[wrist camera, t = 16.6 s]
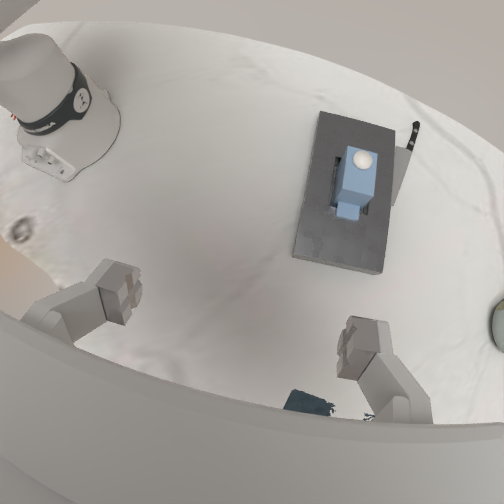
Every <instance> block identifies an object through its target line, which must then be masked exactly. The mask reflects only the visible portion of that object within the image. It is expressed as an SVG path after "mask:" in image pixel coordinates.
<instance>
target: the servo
mask: <svg viewBox="0 0 504 504" xmlns="http://www.w3.org/2000/svg"><path fill="white" fill-rule="evenodd" d="M377 155H378V154H377V153H373V152H370V151H366V150H362V149H359V148H355V147H351V146H347V149H346V150H345V153H344V155H343V157H342V159H341V161H340V163H339V165H338V167H337V169H336V173H335V179H334V186H333V192H332V199H331V205H330V206H331V207H335V208H337V210H336V216H335V217H339V218H343V219H347V220H352V221H356V222H357V221H358V218H359V212H360V211H361V210H362V208H363V207H364V206H365V205H366V204H367V203H368V202H369V201H370V200H371V199H372V198H373V197H374V189H375V179H376V167H377Z"/></svg>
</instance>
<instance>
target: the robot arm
mask: <svg viewBox="0 0 504 504" xmlns="http://www.w3.org/2000/svg"><path fill="white" fill-rule="evenodd" d="M39 1H40V0H0V34H1V33H2V32H3V31H4V30H5V29H6V28H7V27H9V26H10V25H11V24H12V23H13V22H14V21H15V20H17V19H18V18H19V17H20V16H22V15H23V14H24V13H25V12H27V11H28V10H29V9H30V8H31V7H33V6H34V5H35V4H37V3H38V2H39ZM0 105H2V106H3V107H4V108H6V109H7V110H8V111H10V112H11V113H12V115H11V117H12V116H13V115H14V120H15V119H16V117H17V120H18V122H19V123H20V127H19V130H18V135H17V140H18V143H19V144H20V145H21V146H22V147H23V149H22V161H23V162H24V163H25V164H28V165H30V166H32V167H34V168H36V169H38V170H41V171H43V172H45V173H47V174H49V175H51V176H54V177H56V178H58V179H60V180H62V181H65V182H68V181H70V180H72V179H73V178H74V177H75V176H76V175H77V174H78V172H79V171H80V170H82V169H83V168H85V167H87V166H89V165H91V164H92V163H94V162H95V161H97V160H98V159H99V158H101V157H102V156H103V155H104V154H105V153H106V151H107V150H108V149H109V148H110V146H111V145H112V143H113V142H114V140H115V138H116V136H117V133H118V131H119V127H120V114H119V111H118V109H117V108H116V106H115V105H114V104H113V103H112V102H111V101H110V95H109V93H108V91H107V90H106V89H100V88H99V87H98V86H97V85H96V84H95V83H94V82H93V81H92V80H91V79H90V78H89V77H88V76H87V75H85V74H84V75H83V74H82V71H81V70H80V69H79V68H78V67H77V66H76V65H75V64H74V63H72V62H69V60H68V59H67V58H66V56H65V55H64V54H63V52H62V51H61V50H60V48H59V47H58V45H57V44H56V43H55V41H54V40H53V39H52V38H51V37H49V36H47V35H44V34H35V33H34V34H27V35H23V36H21V37H18V38H15V39H12V40H9V41H0ZM63 172H64V173H63ZM62 173H63V174H62ZM140 276H141V274H140V269H139V268H138V267H135V266H131V265H128V264H124V263H121V262H118V261H113V260H110V259H104V260H103V261H102V262H101V263H100V264H99V265H98V267H97V268H96V269H95V270H94V271H93V273H92V274H91V275H90V276H89V277H88V279H87V280H86V281H85V282H80V283H77V284H75V285H73V286H70V287H68V288H66V289H63V290H61V291H59V292H56V293H54V294H52V295H49V296H47V297H45V298H43V299H40V300H38V301H36V302H35V303H34V304H33V305H32V306H31V308H30V309H29V310H28V311H27V313H26V314H25V315H24V316H23V317H22V319H21V320H20V321H19V320H17V319H16V318H13V317H12V316H10V315H8V314H6V313H4V312H3V311H1V310H0V504H504V423H502V422H494V423H478V424H433V419H432V411H431V403H430V398H429V396H428V395H427V394H426V392H425V391H424V390H423V388H422V387H421V386H420V385H419V383H418V382H417V381H416V379H415V378H414V377H413V376H412V374H411V373H410V372H409V370H408V369H407V368H406V367H405V365H404V364H403V363H402V362H401V360H400V359H399V358H398V357H397V356H396V355H393V348H392V341H391V335H390V328H389V323H388V322H386V321H380V320H374V319H368V318H362V317H357V316H350V317H349V318H348V320H347V322H346V329H344V330H342V333H341V335H340V338H339V341H338V347H337V354H338V355H339V357H340V358H339V360H338V362H337V377H339V378H344V379H350V380H356V381H357V383H358V384H359V386H360V388H361V390H362V392H363V394H364V395H365V397H366V399H367V401H368V403H369V405H370V407H371V408H372V410H373V412H374V414H375V416H376V417H375V418H374V419H373V420H372V421H363V420H353V419H344V418H336V417H328V416H321V415H314V414H307V413H301V412H295V411H289V410H284V409H278V408H273V407H268V406H263V405H258V404H253V403H249V402H244V401H240V400H236V399H231V398H227V397H223V396H219V395H215V394H211V393H208V392H204V391H200V390H197V389H193V388H189V387H186V386H183V385H179V384H176V383H173V382H169V381H166V380H163V379H160V378H157V377H154V376H151V375H148V374H145V373H142V372H139V371H136V370H133V369H130V368H128V367H125V366H122V365H119V364H117V363H114V362H111V361H109V360H106V359H104V358H101V357H98V356H96V355H93V354H91V353H89V352H86V351H84V350H81V349H79V348H77V347H75V346H74V342H75V341H77V340H78V339H80V338H81V337H83V336H85V335H86V334H88V333H89V332H91V331H92V330H94V329H96V328H97V327H99V326H100V325H102V324H103V323H105V322H107V321H111V322H114V323H117V324H120V325H124V326H125V325H126V323H127V322H128V320H129V318H130V317H131V315H132V311H131V309H133V308H135V307H137V305H138V304H139V302H140V299H141V296H142V284H141V282H140V281H139V280H138V279H139V278H140Z"/></svg>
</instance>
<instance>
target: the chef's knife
mask: <svg viewBox="0 0 504 504" xmlns="http://www.w3.org/2000/svg"><path fill="white" fill-rule="evenodd" d="M419 127H420V122H418V121H416V122H414V123H413V132H412V135H411V138H410V140H409V142H408V145H407V148H402V147H398V146H396V148H395V153H394V172H393V186H392V198H391V206H394V203H395V201H396V198H397V195H398V193H399V190H400V187H401V184H402V181H403V178H404V175H405V173H406V170H407V166H408V163H409V160H410V157H411V154H412V150H413V147H414V144H415V141H416V137H417V134H418V131H419Z"/></svg>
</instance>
